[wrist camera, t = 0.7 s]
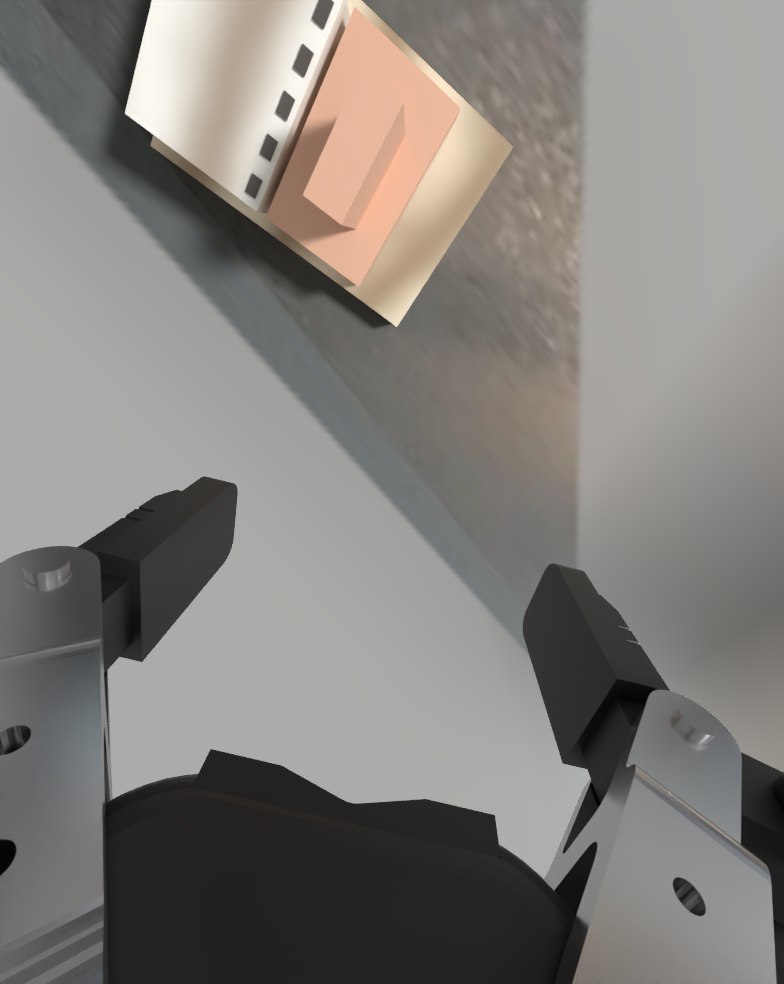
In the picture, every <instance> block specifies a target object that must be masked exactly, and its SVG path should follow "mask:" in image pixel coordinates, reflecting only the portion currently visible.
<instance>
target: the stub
mask: <svg viewBox="0 0 784 984" xmlns="http://www.w3.org/2000/svg"><path fill="white" fill-rule="evenodd" d="M459 111H460V107H459V106H458V105H457V104H456V103H455V102H454V101H453V100H452V99H451V98H450V97H449V96H448V95H447V94H446V93H445V92H444V91H443V90H441V89H440V88H439V87H438V86H437V85H436V84H435V83H434V82H433V81H432V80H431V79H430V78H429V77H428V76H427V75H426V74H425V73H424V72H423V71H422V70H421V69H420V68H418V67H417V66H416V65H415V64H414V63H413V62H412V61H411V60H410V59H409V58H408V57H407V56H406V55H405V54H404V53H403V52H402V51H401V50H400V49H399V48H398V47H397V46H395V45H394V44H393V43H392V42H391V41H390V40H389V39H388V38H387V37H386V36H385V35H384V34H383V33H382V32H381V31H380V30H379V29H378V28H377V27H376V26H375V25H374V24H372V23H371V22H370V21H369V20H368V19H367V18H366V17H365V16H364V15H363V14H362V13H361V12H360V11H359V10H358V9H357V8H356V7H354V9H353V12H352V14H351V17H350V19H349V21H348V24H347V26H346V28H345V31H344V33H343V36H342V38H341V40H340V43H339V45H338V47H337V50H336V52H335V54H334V57H333V59H332V62H331V64H330V66H329V69H328V71H327V73H326V76H325V78H324V80H323V83H322V85H321V88H320V90H319V92H318V95H317V97H316V99H315V102H314V104H313V106H312V109H311V111H310V114H309V116H308V118H307V121H306V123H305V125H304V128H303V130H302V132H301V135H300V137H299V140H298V142H297V144H296V147H295V149H294V151H293V154H292V156H291V159H290V161H289V163H288V166H287V168H286V170H285V173H284V175H283V177H282V180H281V182H280V185H279V187H278V189H277V192H276V194H275V196H274V199H273V201H272V203H271V206H270V208H269V211H268V213H267V215H266V218H267V219H268V220H269V221H271V222H272V223H273V224H275V225H276V226H277V227H279V228H280V229H281V230H283V231H284V232H286V233H287V234H288V235H290V236H291V237H292V238H294V239H295V240H296V241H298V242H299V243H300V244H302V245H303V246H304V247H306V248H307V249H308V250H310V251H311V252H312V253H314V254H315V255H316V256H318V257H319V258H320V259H322V260H323V261H324V262H326V263H327V264H328V265H330V266H331V267H333V268H334V269H335V270H337V271H338V272H339V273H341V274H342V275H343V276H345V277H346V278H347V279H349V280H350V281H351V282H353V283H354V284H355V285H357V286H358V287H359V286H360V285H361V284H363V282H364V280H365V278H366V277H367V275H368V273H369V271H370V270H371V268H372V266H373V264H374V263H375V261H376V259H377V257H378V256H379V254H380V252H381V250H382V249H383V247H384V245H385V243H386V242H387V240H388V238H389V236H390V235H391V233H392V231H393V229H394V228H395V226H396V224H397V222H398V221H399V219H400V217H401V215H402V214H403V212H404V210H405V208H406V207H407V205H408V203H409V201H410V200H411V198H412V196H413V195H414V193H415V191H416V189H417V188H418V186H419V184H420V182H421V181H422V179H423V177H424V175H425V174H426V172H427V170H428V168H429V167H430V165H431V163H432V161H433V160H434V158H435V156H436V154H437V153H438V151H439V149H440V147H441V146H442V144H443V142H444V140H445V139H446V137H447V135H448V133H449V132H450V130H451V128H452V126H453V125H454V123H455V121H456V119H457V116H458V113H459Z"/></svg>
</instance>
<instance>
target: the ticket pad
mask: <svg viewBox="0 0 784 984" xmlns="http://www.w3.org/2000/svg"><path fill="white" fill-rule="evenodd" d="M354 7H356V8H357V9H358V10H359V11H360V12H361V13H362V14H363V15H364V16H365V17H366V18H367V19H368V20H369V21H370V22H371V23H372V24H374V25H375V26H376V27H377V28H378V29H379V30H380V31H381V32H382V33H383V34H384V35H385V36H386V37H387V38H388V39H389V40H390V41H391V42H392V43H393V44H394V45H395V46H397V47H398V48H399V49H400V50H401V51H402V52H403V53H404V54H405V55H406V56H407V57H408V58H409V59H410V60H411V61H412V62H413V63H414V64H415V65H416V66H417V67H418V68H420V69H421V70H422V71H423V72H424V73H425V74H426V75H427V76H428V77H429V78H430V79H431V80H432V81H433V82H434V83H435V84H436V85H437V86H438V87H439V88H440V89H441V90H443V91H444V92H445V93H446V94H447V95H448V96H449V97H450V98H451V99H452V100H453V101H454V102H455V103H456V104H457V105H458V106H459V107H460V111H459V113H458V116H457V119H456V121H455V123H454V125H453V126H452V128H451V130H450V132H449V133H448V135H447V137H446V139H445V140H444V142H443V144H442V146H441V147H440V149H439V151H438V153H437V154H436V156H435V158H434V160H433V161H432V163H431V165H430V167H429V168H428V170H427V172H426V174H425V175H424V177H423V179H422V181H421V182H420V184H419V186H418V188H417V189H416V191H415V193H414V195H413V196H412V198H411V200H410V201H409V203H408V205H407V207H406V208H405V210H404V212H403V214H402V215H401V217H400V219H399V221H398V222H397V224H396V226H395V228H394V229H393V231H392V233H391V235H390V236H389V238H388V240H387V242H386V243H385V245H384V247H383V249H382V250H381V252H380V254H379V256H378V257H377V259H376V261H375V263H374V264H373V266H372V268H371V270H370V271H369V273H368V275H367V277H366V278H365V280H364V282H363V284H361V285H360V286H359V287H358V286H357V285H355V284H354V283H353V282H351V281H350V280H349V279H347V278H346V277H345V276H343V275H342V274H341V273H339V272H338V271H337V270H335V269H334V268H333V267H331V266H330V265H328V264H327V263H326V262H324V261H323V260H322V259H320V258H319V257H318V256H316V255H315V254H314V253H312V252H311V251H310V250H308V249H307V248H306V247H304V246H303V245H302V244H300V243H299V242H298V241H296V240H295V239H294V238H292V237H291V236H290V235H288V234H287V233H286V232H284V231H283V230H281V229H280V228H279V227H277V226H276V225H275V224H273V223H272V222H271V221H269V220H268V219H267V218H266V215H267V213H268V211H269V208H270V206H271V203H272V201H273V199H274V196H275V194H276V192H277V189H278V187H279V185H280V182H281V180H282V177H283V175H284V173H285V170H286V168H287V166H288V163H289V161H290V159H291V156H292V154H293V151H294V149H295V147H296V144H297V142H298V140H299V137H300V135H301V132H302V130H303V128H304V125H305V123H306V121H307V118H308V116H309V114H310V111H311V109H312V106H313V104H314V102H315V99H316V97H317V95H318V92H319V90H320V88H321V85H322V83H323V80H324V78H325V76H326V73H327V71H328V69H329V66H330V64H331V62H332V59H333V57H334V54H335V52H336V50H337V47H338V45H339V43H340V40H341V38H342V36H343V33H344V31H345V28H346V26H347V24H348V21H349V19H350V17H351V14H352V12H353V9H354ZM125 114H126V115H128V116H129V117H130V118H132V119H133V120H134V121H136V122H137V123H138V124H140V125H141V126H142V127H144V128H145V129H146V130H148V131H149V132H150V133H152V134H153V138H152V142H151V145H150V146H151V147H153V148H154V149H156V150H157V151H158V152H160V153H161V154H162V155H164V156H165V157H166V158H168V159H169V160H170V161H172V162H173V163H175V164H176V165H177V166H179V167H180V168H181V169H183V170H184V171H185V172H187V173H188V174H190V175H191V176H192V177H194V178H195V179H196V180H198V181H199V182H200V183H202V184H203V185H204V186H206V187H207V188H209V189H210V190H211V191H213V192H214V193H215V194H217V195H218V196H219V197H221V198H222V199H223V200H225V201H226V202H228V203H229V204H230V205H232V206H233V207H234V208H236V209H237V210H238V211H240V212H241V213H243V214H244V215H245V216H247V217H248V218H249V219H251V220H252V221H253V222H255V223H256V224H257V225H259V226H260V227H262V228H263V229H264V230H266V231H267V232H268V233H270V234H271V235H272V236H274V237H275V238H277V239H278V240H279V241H281V242H282V243H283V244H285V245H286V246H287V247H289V248H290V249H291V250H293V251H294V252H296V253H297V254H298V255H300V256H301V257H302V258H304V259H305V260H306V261H308V262H309V263H311V264H312V265H313V266H315V267H316V268H317V269H319V270H320V271H321V272H323V273H324V274H325V275H327V276H328V277H330V278H331V279H332V280H334V281H335V282H336V283H338V284H339V285H340V286H342V287H343V288H345V289H346V290H347V291H349V292H350V293H351V294H353V295H354V296H355V297H357V298H358V299H359V300H361V301H362V302H364V303H365V304H366V305H368V306H369V307H370V308H372V309H373V310H374V311H376V312H377V313H378V314H380V315H381V316H383V317H384V318H385V319H387V320H388V321H389V322H391V323H392V324H393V325H395V326H396V327H397V326H398V324H399V323H400V321H401V320H402V318H403V317H404V315H405V314H406V312H407V311H408V309H409V307H410V306H411V304H412V303H413V301H414V300H415V298H416V297H417V295H418V294H419V292H420V290H421V289H422V287H423V286H424V284H425V283H426V281H427V280H428V278H429V277H430V275H431V273H432V272H433V270H434V269H435V267H436V266H437V264H438V263H439V261H440V260H441V258H442V256H443V255H444V253H445V252H446V250H447V249H448V247H449V246H450V244H451V243H452V241H453V239H454V238H455V236H456V235H457V233H458V232H459V230H460V229H461V227H462V226H463V224H464V222H465V221H466V219H467V218H468V216H469V215H470V213H471V212H472V210H473V209H474V207H475V205H476V204H477V202H478V201H479V199H480V198H481V196H482V195H483V193H484V192H485V190H486V188H487V187H488V185H489V184H490V182H491V181H492V179H493V178H494V176H495V175H496V173H497V171H498V170H499V168H500V167H501V165H502V164H503V162H504V161H505V159H506V158H507V156H508V154H509V153H510V151H511V150H512V148H513V146H512V145H511V144H510V143H509V142H507V141H506V140H505V139H504V138H503V137H502V136H501V135H500V134H499V133H498V132H497V131H496V130H495V129H494V128H493V127H492V126H491V125H490V124H489V123H488V122H487V121H486V120H485V119H484V118H483V117H482V116H481V115H480V114H479V113H477V112H476V111H475V110H474V109H473V108H472V107H471V106H470V105H469V104H468V103H467V102H466V101H465V100H464V99H463V98H462V97H461V96H460V95H459V94H458V93H457V92H456V91H455V90H454V89H453V88H452V87H451V86H450V85H448V84H447V83H446V82H445V81H444V80H443V79H442V78H441V77H440V76H439V75H438V74H437V73H436V72H435V71H434V70H433V69H432V68H431V67H430V66H429V65H428V64H427V63H426V62H425V61H424V60H423V59H422V58H421V57H419V56H418V55H417V54H416V53H415V52H414V51H413V50H412V49H411V48H410V47H409V46H408V45H407V44H406V43H405V42H404V41H403V40H402V39H401V38H400V37H399V36H398V35H397V34H396V33H395V32H394V31H393V30H392V29H391V28H389V27H388V26H387V25H386V24H385V23H384V22H383V21H382V20H381V19H380V18H379V17H378V16H377V15H376V14H375V13H374V12H373V11H372V10H371V9H370V8H369V7H368V6H367V5H366V4H365V3H364V2H363V1H362V0H152V1H151V6H150V10H149V14H148V18H147V22H146V27H145V31H144V35H143V39H142V43H141V48H140V52H139V56H138V60H137V64H136V68H135V73H134V77H133V81H132V85H131V89H130V94H129V98H128V102H127V106H126V110H125Z"/></svg>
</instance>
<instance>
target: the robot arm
mask: <svg viewBox="0 0 784 984" xmlns="http://www.w3.org/2000/svg"><path fill="white" fill-rule="evenodd" d="M236 505H237V486H236V485H235V484H233V483H230V482H226V481H221V480H217V479H213V478H209V477H202V478H200V479H199V480H197V481H196V482H194V483H193V484H192V485H190V486H189V487H187V488H186V489H185V490H183V491H179V490H175V491H171V492H168V493H165V494H162V495H158V496H155V497H153V498H152V499H150V500H149V501H147V502H146V503H144V504H143V505H141V506H140V507H139V509H135V510H134V511H132V512H130V513H129V514H127V515H126V517H125V518H121V519H120V520H118V521H117V522H115V523H114V524H112V525H111V526H109V527H108V528H106V529H105V530H103V531H102V532H100V533H99V534H97V535H96V536H94V537H92V538H91V539H89V540H88V541H87V542H85V543H83V544H82V545H80V546H79V547H70V546H55V547H44V548H38V549H34V550H30V551H26V552H23V553H20V554H17V555H15V556H13V557H11V558H8V559H6V560H5V561H3V562H1V563H0V984H784V772H781V771H779V770H777V769H775V768H772V767H770V766H768V765H766V764H764V763H762V762H760V761H758V760H756V759H754V758H751V757H750V756H748V755H746V754H743V753H741V751H740V748H739V746H738V744H737V742H736V740H735V739H734V737H733V736H732V735H731V733H730V732H729V731H728V730H727V728H726V727H725V726H724V725H723V724H722V723H721V722H720V721H719V720H718V719H717V718H716V717H714V716H713V715H712V714H711V713H710V712H709V711H707V710H706V709H705V708H703V707H702V706H700V705H699V704H697V703H696V702H694V701H692V700H691V699H689V698H687V697H685V696H683V695H680V694H678V693H675V692H672V691H670V690H669V688H668V687H667V685H666V684H665V682H664V681H663V679H662V678H661V676H660V675H659V673H658V672H657V671H656V669H655V667H654V666H653V664H652V663H651V661H650V659H649V658H648V656H647V655H646V653H645V652H644V650H643V649H642V647H641V646H640V645H638V641H637V640H636V638H635V636H634V635H633V633H632V632H631V631H628V629H629V627H628V626H627V624H626V623H625V621H624V620H623V618H622V617H621V615H620V614H619V612H618V611H617V610H616V609H615V608H614V607H613V606H612V605H611V604H609V603H608V602H607V601H606V600H605V599H604V598H603V597H602V596H601V595H599V594H598V593H597V591H596V589H595V588H594V586H593V585H592V583H591V581H590V580H589V578H588V577H587V575H586V574H585V572H584V571H582V570H578V569H574V568H570V567H566V566H562V565H557V564H550V565H549V566H548V567H547V568H546V570H545V572H544V574H543V576H542V578H541V580H540V582H539V584H538V586H537V589H536V591H535V593H534V595H533V597H532V599H531V601H530V603H529V606H528V608H527V610H526V612H525V616H524V621H523V635H524V639H525V642H526V645H527V648H528V652H529V655H530V658H531V661H532V664H533V668H534V671H535V674H536V678H537V680H538V684H539V687H540V691H541V694H542V697H543V700H544V704H545V707H546V710H547V713H548V717H549V720H550V723H551V727H552V730H553V733H554V736H555V740H556V742H557V746H558V749H559V752H560V756H561V759H562V762H563V763H564V764H568V765H572V766H576V767H580V768H585V769H588V772H589V774H590V777H591V779H590V780H589V781H588V783H587V784H586V786H585V787H584V789H583V791H582V793H581V796H580V798H579V800H578V803H577V805H576V807H575V810H574V812H573V815H572V817H571V819H570V822H569V824H568V827H567V829H566V831H565V834H564V836H563V839H562V841H561V843H560V846H559V848H558V850H557V853H556V855H555V857H554V860H553V862H552V865H551V867H550V869H549V871H548V873H547V875H546V876H545V878H544V879H543V878H542V877H541V876H540V875H538V874H537V873H536V872H535V871H534V870H533V869H532V868H531V867H529V866H528V865H527V864H526V863H525V862H524V861H523V860H521V859H520V858H518V857H517V856H515V855H514V854H513V853H511V852H510V851H508V850H507V849H505V848H504V847H502V846H500V845H499V843H498V836H497V828H496V821H495V815H492V814H487V813H483V812H479V811H474V810H470V809H466V808H461V807H457V806H453V805H449V804H444V803H440V802H435V801H431V800H427V799H423V800H409V801H393V802H378V803H363V804H353V803H349V802H346V801H344V800H342V799H340V798H338V797H337V796H335V795H333V794H331V793H329V792H327V791H326V790H324V789H322V788H320V787H319V786H317V785H315V784H313V783H311V782H310V781H308V780H306V779H304V778H302V777H301V776H299V775H297V774H295V773H294V772H292V771H290V770H288V769H287V768H285V767H283V766H281V765H277V764H272V763H268V762H263V761H259V760H255V759H251V758H246V757H242V756H237V755H234V754H229V753H225V752H221V751H216V750H212V749H211V750H210V752H209V754H208V756H207V758H206V760H205V762H204V764H203V766H202V768H201V770H200V772H199V774H193V775H184V776H178V777H172V778H167V779H163V780H160V781H157V782H153V783H150V784H147V785H144V786H142V787H139V788H136V789H134V790H131V791H129V792H127V793H124V794H122V795H120V796H118V797H116V798H114V799H113V797H112V777H111V752H110V724H109V723H110V721H109V689H108V669H109V667H110V666H111V665H112V664H113V663H114V662H115V661H116V660H117V659H118V657H123V658H128V659H132V660H136V661H141V662H142V661H143V660H144V659H145V658H146V657H147V655H148V654H149V653H150V652H151V650H152V649H153V648H154V647H155V646H156V644H157V643H158V642H159V641H160V640H161V638H162V637H163V636H164V635H165V634H166V632H167V631H168V630H169V629H170V627H171V626H172V625H173V624H174V623H175V621H176V620H177V619H178V618H179V617H180V615H181V614H182V613H183V612H184V610H185V609H186V608H187V607H188V606H189V604H190V603H191V602H192V601H193V600H194V598H195V597H196V596H197V595H198V593H199V592H200V591H201V590H202V589H203V587H204V586H205V585H206V584H207V583H208V581H209V580H210V579H211V578H212V577H213V575H214V574H215V573H216V572H217V571H218V569H219V568H220V567H221V566H222V565H223V563H224V562H225V561H226V559H227V557H228V555H229V553H230V550H231V547H232V544H233V538H234V527H235V516H236Z"/></svg>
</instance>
